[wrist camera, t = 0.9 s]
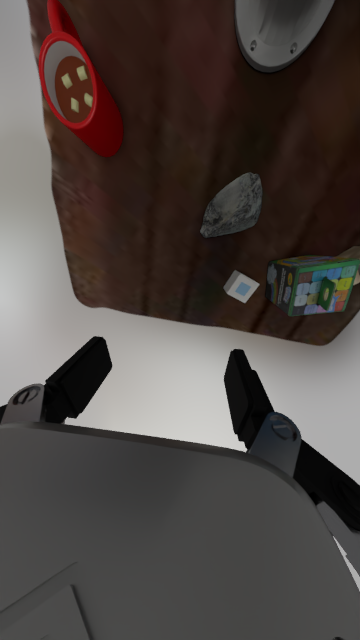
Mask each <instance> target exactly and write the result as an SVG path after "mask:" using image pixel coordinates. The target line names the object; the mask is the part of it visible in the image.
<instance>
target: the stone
mask: <svg viewBox="0 0 360 640" xmlns="http://www.w3.org/2000/svg"><path fill="white" fill-rule="evenodd" d="M262 193H263V192H262V186H261V180H260V177H259V174H252V173H247V174H244V175H242V176H241V177H239V178H237V179H235V180H234V181H233V182H231V183H230V184H229V185H227V186H226V187H225V188H224V189H222V190H221V191H220V192H219V193H218V194H217V195H216V196H215V198H213V199H212V200H211V202H210V203H209V205H208V207H207V209H206V211H205V214H204V220H203V223H202V229H201V230H200V232H201V234H202V235H203V237H205V238H209V237H216V236H219V235H224V234H230V233H235V232H239V231H242V230H245V229H247V228H250V227H252V226H253V225H255V223H256V222H257V221H258V218H259V214H260V211H261V205H262Z"/></svg>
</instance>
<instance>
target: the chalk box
mask: <svg viewBox="0 0 360 640" xmlns="http://www.w3.org/2000/svg"><path fill="white" fill-rule="evenodd" d="M359 264H360V259H356V258H342V257H330V256H315V255H307V256H300V257H294V258H288V259H282V260H275V261H270V262H269V264H268V273H267V285H266V296H265V297H266V298H268V299H269V300H270V301H271V302H273V303H274V304H275V305H277V306H278V307H279V308H280V309H282V310H283V311H284V312H285V313H287V314H288V315H289V316H297V315H308V314H318V313H328V312H340V311H344V310H345V307H346V304H347V302H348V299H349V296H350V293H351V290H352V287H353V284H354V281H355V277H356V274H357V271H358V267H359Z"/></svg>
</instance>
